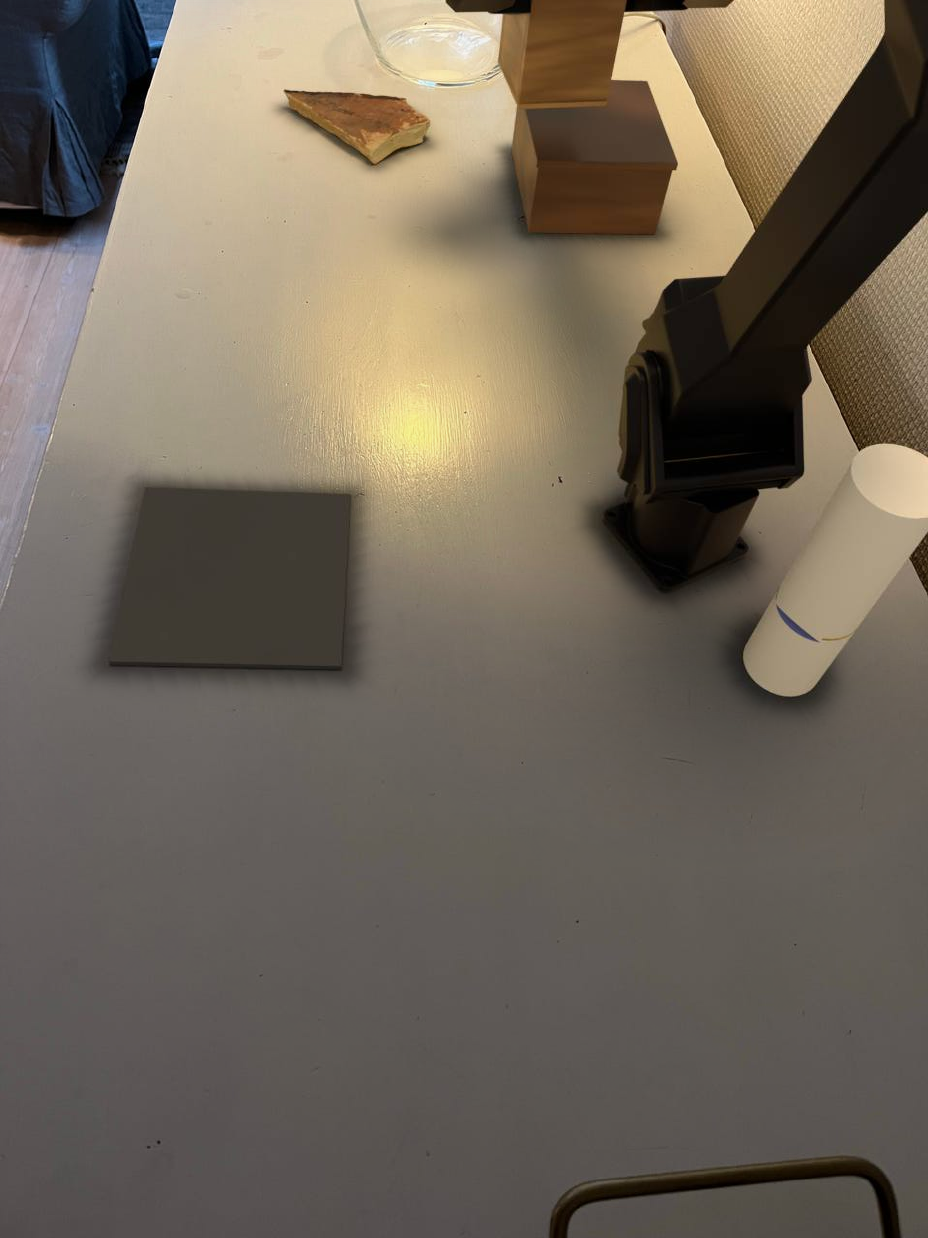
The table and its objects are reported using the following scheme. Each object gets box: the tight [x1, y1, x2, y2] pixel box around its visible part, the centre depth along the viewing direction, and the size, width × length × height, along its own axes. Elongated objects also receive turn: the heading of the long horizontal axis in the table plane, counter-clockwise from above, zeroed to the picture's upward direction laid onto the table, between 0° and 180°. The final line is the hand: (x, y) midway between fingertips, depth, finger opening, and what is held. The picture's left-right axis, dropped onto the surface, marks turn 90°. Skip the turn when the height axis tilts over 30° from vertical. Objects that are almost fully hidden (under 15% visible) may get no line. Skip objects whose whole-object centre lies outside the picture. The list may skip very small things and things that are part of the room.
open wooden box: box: [497, 0, 627, 109], centre depth 67 cm, size 6×6×9 cm
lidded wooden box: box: [510, 79, 679, 235], centre depth 76 cm, size 11×10×6 cm
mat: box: [108, 486, 352, 670], centre depth 55 cm, size 12×12×1 cm
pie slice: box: [283, 89, 431, 165], centre depth 81 cm, size 11×8×2 cm
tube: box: [742, 443, 928, 698], centre depth 49 cm, size 4×4×15 cm
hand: (556, 5), depth 67 cm, fingers closed on open wooden box, 6 cm apart
